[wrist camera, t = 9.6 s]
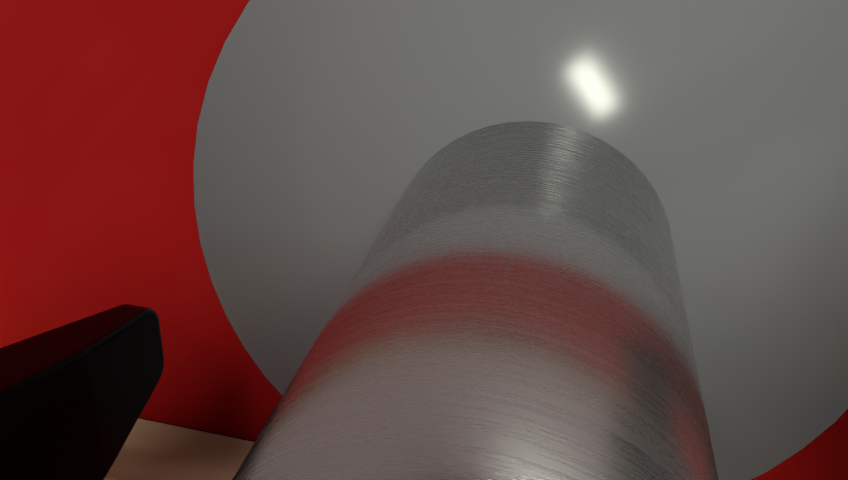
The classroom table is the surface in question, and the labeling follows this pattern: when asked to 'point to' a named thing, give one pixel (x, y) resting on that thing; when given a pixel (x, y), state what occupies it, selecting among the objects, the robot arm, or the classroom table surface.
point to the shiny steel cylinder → (504, 330)
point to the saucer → (564, 105)
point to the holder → (177, 454)
